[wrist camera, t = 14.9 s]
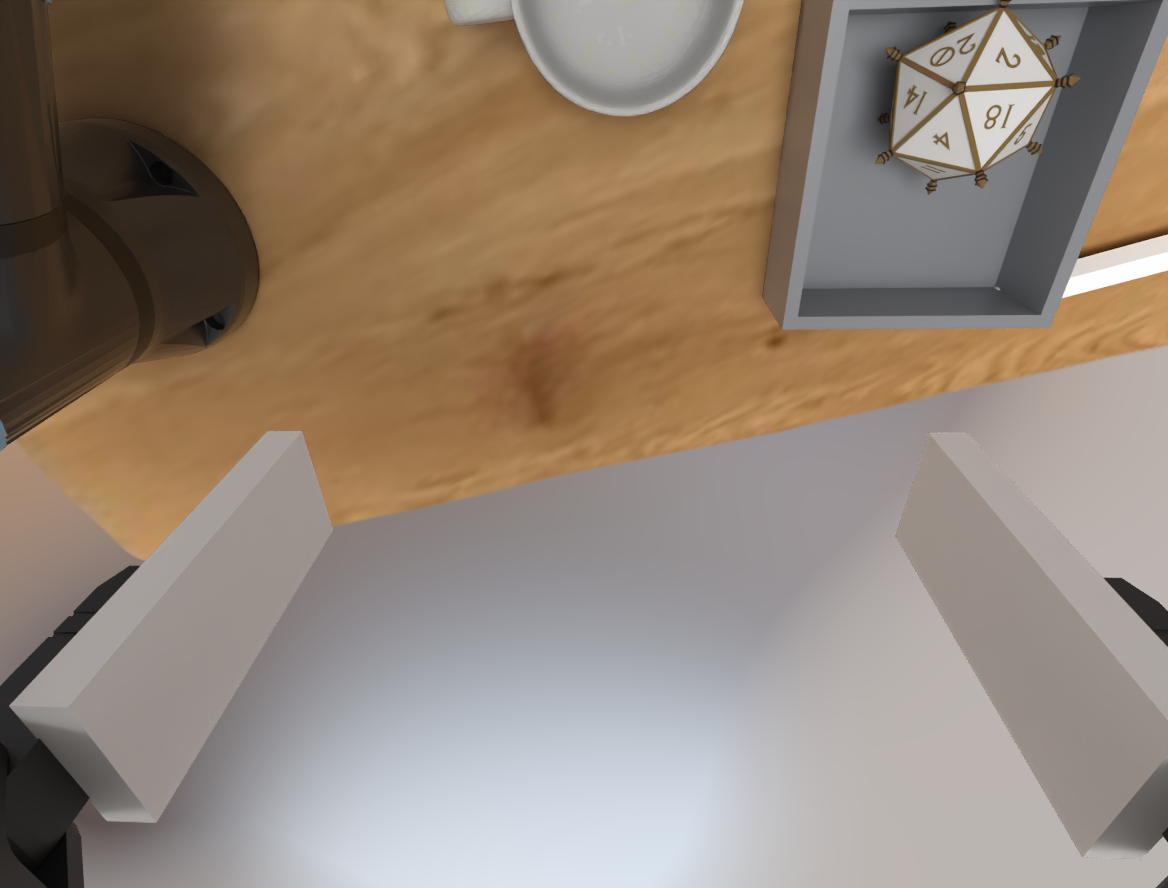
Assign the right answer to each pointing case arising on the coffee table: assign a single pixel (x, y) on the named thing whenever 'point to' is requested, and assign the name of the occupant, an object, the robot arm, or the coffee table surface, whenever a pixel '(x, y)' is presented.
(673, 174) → the coffee table surface
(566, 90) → the teacup
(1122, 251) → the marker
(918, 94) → the game die
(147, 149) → the robot arm
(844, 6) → the bin
